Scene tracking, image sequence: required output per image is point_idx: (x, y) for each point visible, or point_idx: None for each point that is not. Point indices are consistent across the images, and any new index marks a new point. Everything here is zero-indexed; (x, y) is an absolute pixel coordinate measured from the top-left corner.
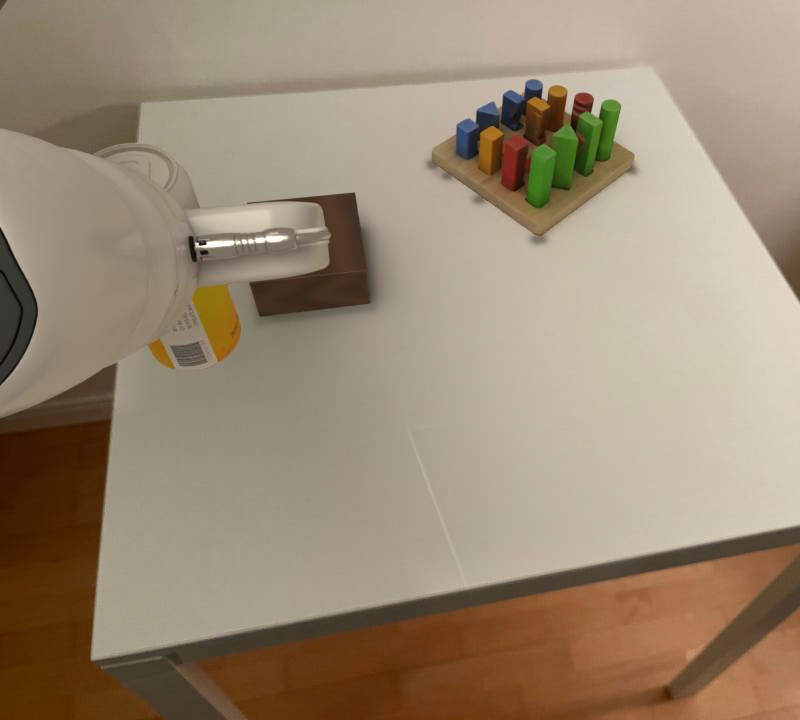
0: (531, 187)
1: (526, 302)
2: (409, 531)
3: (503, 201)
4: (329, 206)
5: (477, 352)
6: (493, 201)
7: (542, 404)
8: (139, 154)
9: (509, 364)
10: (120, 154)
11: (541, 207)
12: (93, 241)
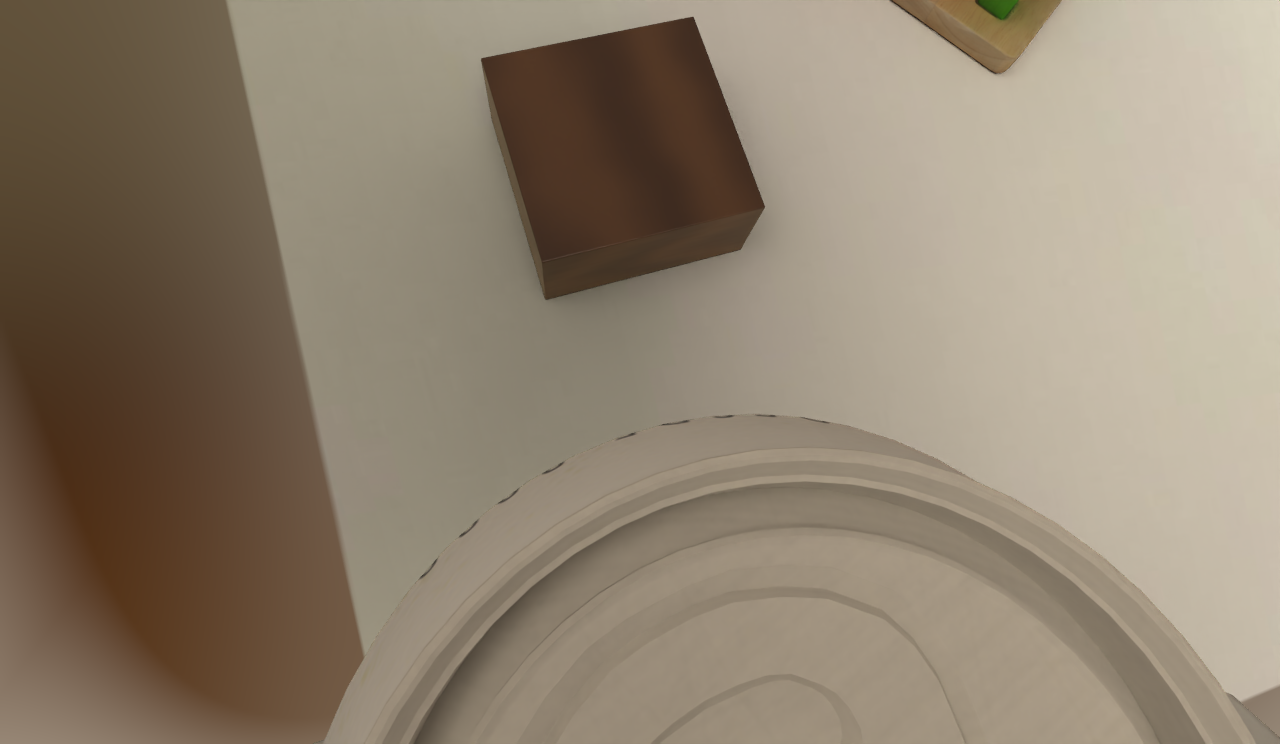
0: None
1: (1007, 220)
2: None
3: (938, 7)
4: (652, 55)
5: (948, 334)
6: (910, 6)
7: (1076, 428)
8: (799, 573)
9: (1006, 353)
10: (630, 608)
11: (1008, 17)
12: None
